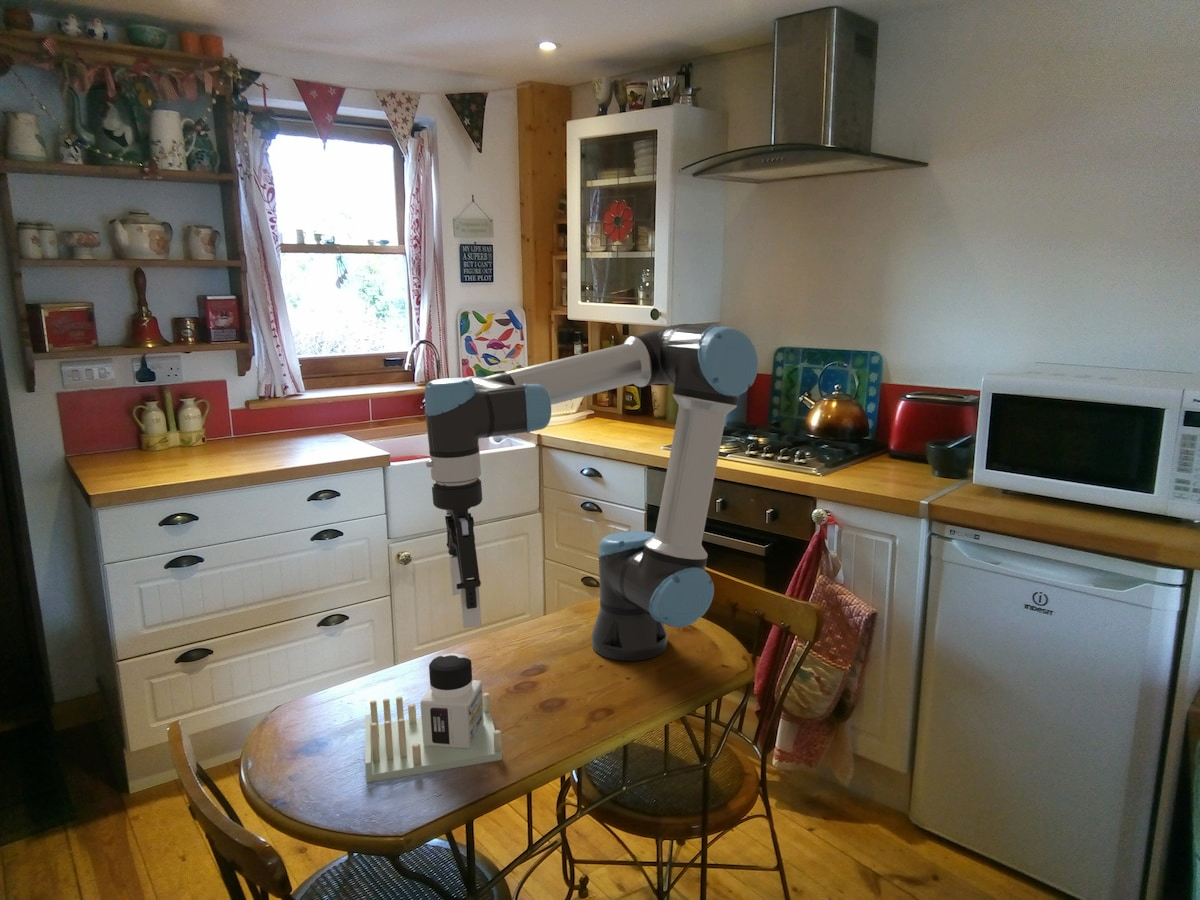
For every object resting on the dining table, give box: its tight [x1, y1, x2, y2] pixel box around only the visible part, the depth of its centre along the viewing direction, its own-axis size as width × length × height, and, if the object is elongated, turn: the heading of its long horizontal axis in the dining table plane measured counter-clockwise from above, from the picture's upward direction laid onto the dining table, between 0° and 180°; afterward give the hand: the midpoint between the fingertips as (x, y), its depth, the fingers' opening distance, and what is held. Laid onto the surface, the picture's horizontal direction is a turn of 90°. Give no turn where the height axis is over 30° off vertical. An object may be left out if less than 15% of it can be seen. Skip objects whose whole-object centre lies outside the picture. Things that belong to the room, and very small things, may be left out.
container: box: [420, 652, 484, 749], centre depth 129 cm, size 8×8×13 cm
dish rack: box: [364, 692, 503, 784], centre depth 129 cm, size 20×14×7 cm
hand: (466, 609), depth 130 cm, fingers open, 13 cm apart
